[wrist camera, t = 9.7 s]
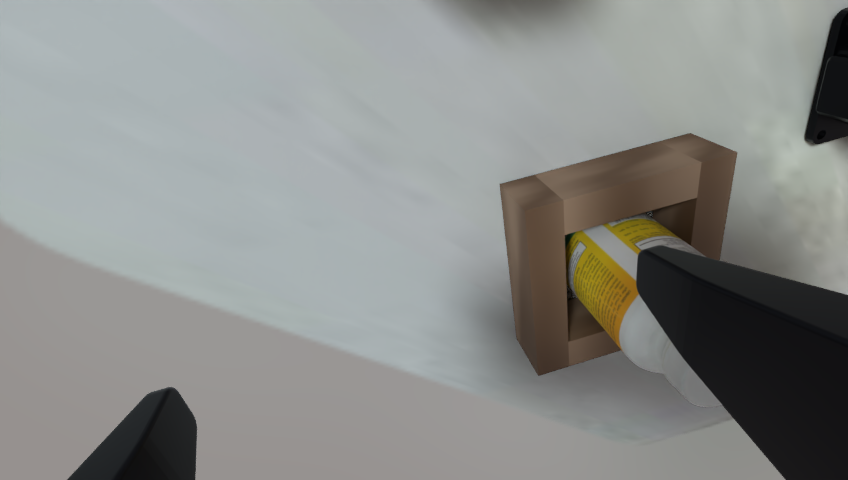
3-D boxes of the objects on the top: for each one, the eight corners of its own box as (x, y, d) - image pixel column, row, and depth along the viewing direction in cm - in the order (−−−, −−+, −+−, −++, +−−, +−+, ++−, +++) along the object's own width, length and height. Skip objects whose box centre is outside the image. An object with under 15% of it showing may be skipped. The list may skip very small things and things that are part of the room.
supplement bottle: (618, 177, 24) (781, 281, 16) (657, 243, 27) (814, 361, 19) (532, 244, 25) (645, 376, 17) (578, 301, 28) (696, 439, 19)
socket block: (690, 133, 24) (737, 152, 21) (672, 291, 29) (708, 322, 26) (499, 184, 23) (524, 210, 20) (516, 338, 28) (538, 375, 25)
